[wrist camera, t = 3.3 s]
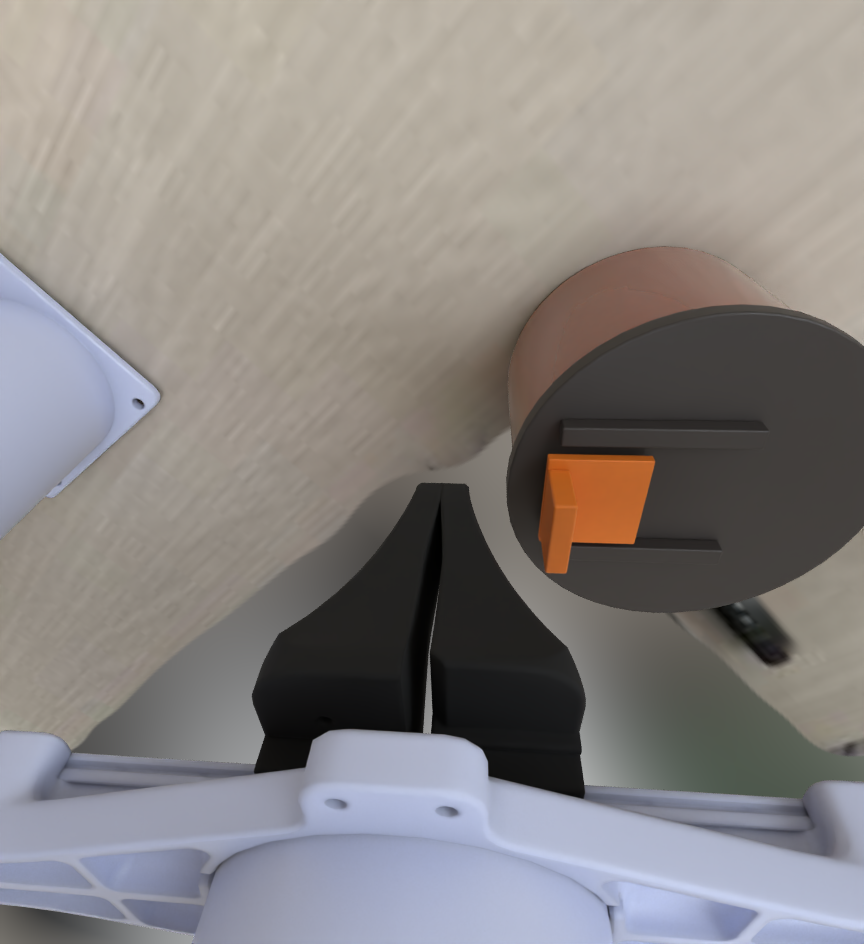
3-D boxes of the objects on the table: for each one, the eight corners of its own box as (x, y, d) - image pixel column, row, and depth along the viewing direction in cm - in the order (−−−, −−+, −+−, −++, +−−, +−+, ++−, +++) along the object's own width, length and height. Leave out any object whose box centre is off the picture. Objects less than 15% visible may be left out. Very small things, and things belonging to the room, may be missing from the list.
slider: (537, 535, 17) (543, 581, 15) (547, 453, 15) (555, 496, 13) (632, 537, 16) (647, 585, 15) (653, 455, 15) (672, 499, 13)
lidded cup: (494, 483, 25) (499, 618, 19) (507, 238, 19) (520, 319, 13) (735, 488, 24) (822, 631, 18) (831, 234, 18) (1014, 319, 12)
